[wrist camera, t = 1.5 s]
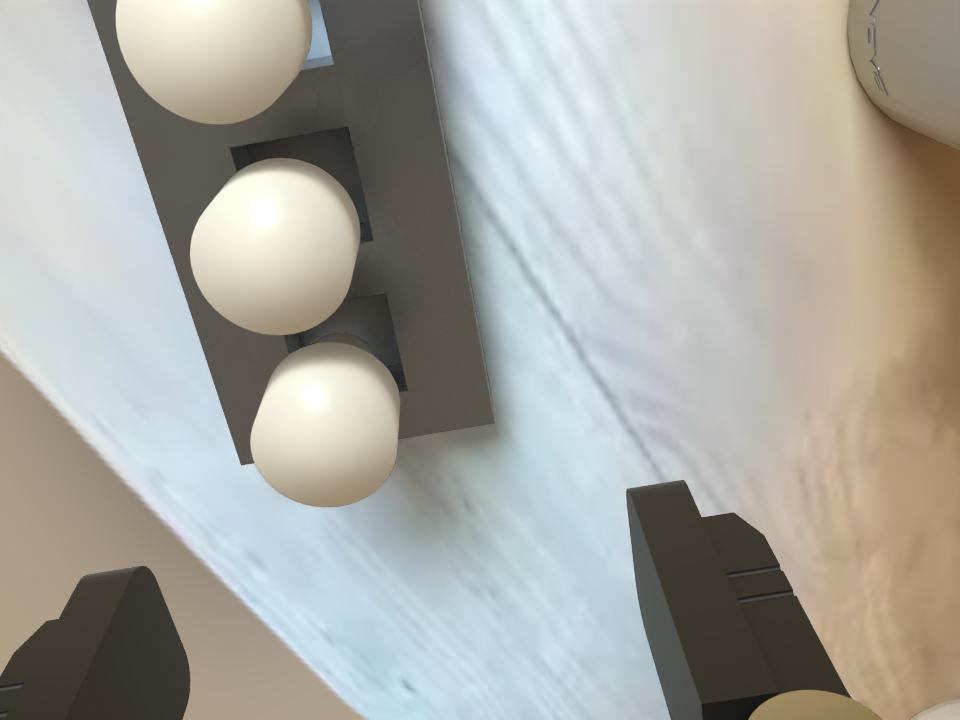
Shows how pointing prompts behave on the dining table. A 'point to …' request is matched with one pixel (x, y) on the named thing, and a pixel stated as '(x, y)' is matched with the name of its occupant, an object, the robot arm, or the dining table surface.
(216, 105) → the knob near
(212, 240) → the knob mid
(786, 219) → the dining table surface
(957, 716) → the cup
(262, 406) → the knob far
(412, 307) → the mount panel
